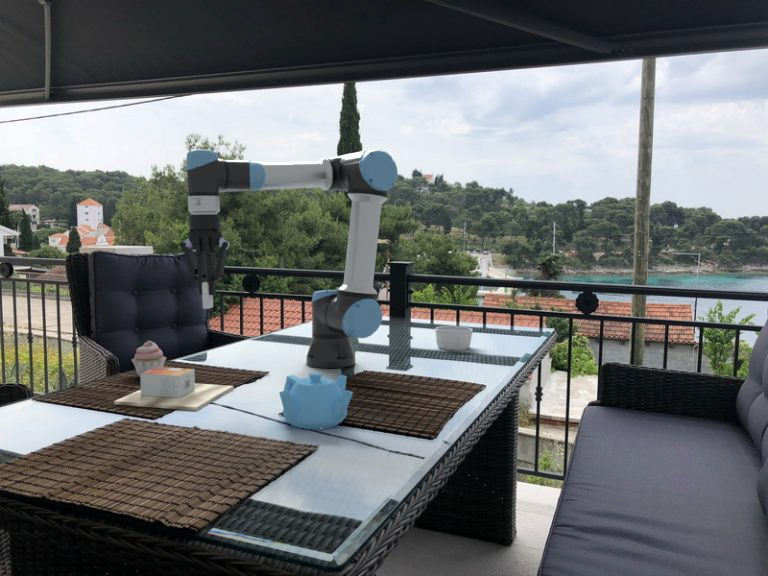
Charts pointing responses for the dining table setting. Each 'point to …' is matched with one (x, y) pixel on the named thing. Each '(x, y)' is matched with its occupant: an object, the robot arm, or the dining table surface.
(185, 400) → the birch board
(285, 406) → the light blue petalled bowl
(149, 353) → the cupcake
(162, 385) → the small box
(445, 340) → the ramekin
